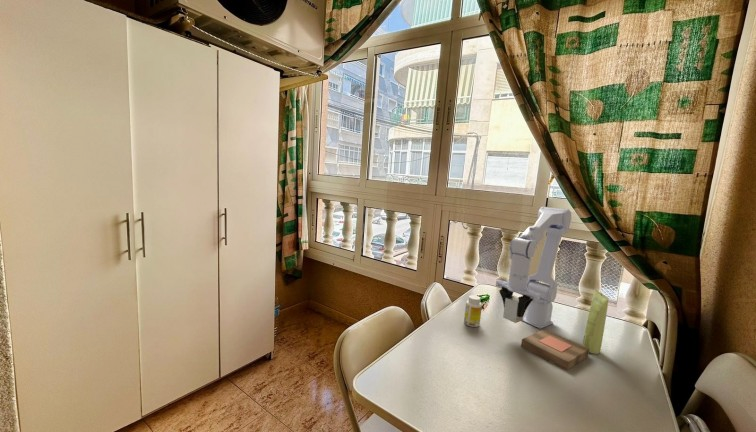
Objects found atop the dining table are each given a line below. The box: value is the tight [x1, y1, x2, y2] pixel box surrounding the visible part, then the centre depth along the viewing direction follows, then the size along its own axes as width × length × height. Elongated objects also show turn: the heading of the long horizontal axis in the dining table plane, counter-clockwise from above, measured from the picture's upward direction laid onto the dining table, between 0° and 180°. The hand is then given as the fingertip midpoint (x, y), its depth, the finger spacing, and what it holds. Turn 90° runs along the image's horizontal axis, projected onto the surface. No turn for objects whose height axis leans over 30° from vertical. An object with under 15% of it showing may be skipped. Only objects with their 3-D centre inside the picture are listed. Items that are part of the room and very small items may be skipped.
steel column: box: [502, 295, 524, 324], centre depth 105 cm, size 4×4×7 cm
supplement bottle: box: [463, 294, 483, 328], centre depth 113 cm, size 6×6×10 cm
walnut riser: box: [520, 328, 590, 371], centre depth 99 cm, size 14×14×3 cm
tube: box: [581, 288, 610, 355], centre depth 100 cm, size 6×5×20 cm
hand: (513, 313), depth 105 cm, fingers closed on steel column, 4 cm apart
